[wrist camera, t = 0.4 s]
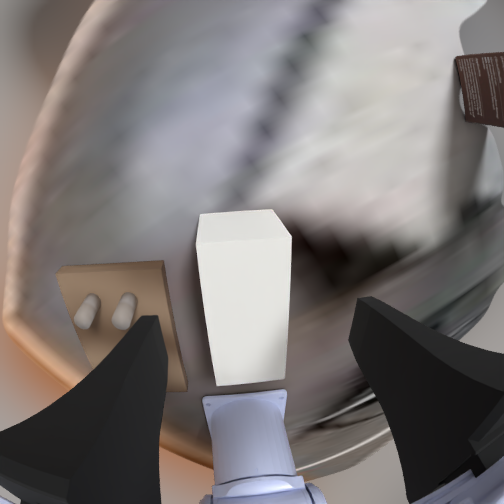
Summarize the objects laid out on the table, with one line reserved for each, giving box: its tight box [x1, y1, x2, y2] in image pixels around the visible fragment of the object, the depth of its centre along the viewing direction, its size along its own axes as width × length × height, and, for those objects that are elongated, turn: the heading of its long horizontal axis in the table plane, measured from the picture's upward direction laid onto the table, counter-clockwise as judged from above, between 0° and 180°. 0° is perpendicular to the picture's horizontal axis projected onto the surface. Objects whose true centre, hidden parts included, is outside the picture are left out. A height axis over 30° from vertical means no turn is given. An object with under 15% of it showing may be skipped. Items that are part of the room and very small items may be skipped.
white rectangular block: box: [196, 209, 292, 386], centre depth 18 cm, size 10×4×5 cm, turn 1°
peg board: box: [56, 260, 188, 392], centre depth 19 cm, size 12×8×4 cm, turn 0°
